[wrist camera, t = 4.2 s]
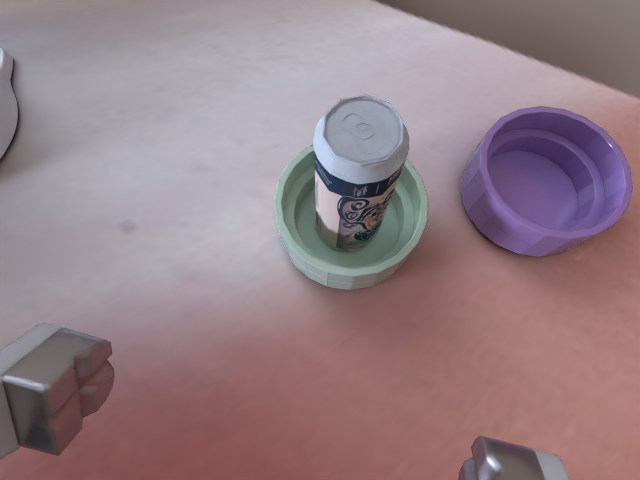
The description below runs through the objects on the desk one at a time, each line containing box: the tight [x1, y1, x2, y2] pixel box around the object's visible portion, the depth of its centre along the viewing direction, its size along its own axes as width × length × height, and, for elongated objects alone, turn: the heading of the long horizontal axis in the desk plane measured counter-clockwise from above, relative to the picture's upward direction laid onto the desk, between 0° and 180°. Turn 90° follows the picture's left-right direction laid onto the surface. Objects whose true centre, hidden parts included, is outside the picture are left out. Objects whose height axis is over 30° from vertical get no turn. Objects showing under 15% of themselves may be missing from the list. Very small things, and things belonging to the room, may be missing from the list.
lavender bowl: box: [461, 106, 633, 257], centre depth 29 cm, size 10×10×4 cm
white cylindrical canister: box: [313, 95, 409, 251], centre depth 24 cm, size 5×5×12 cm
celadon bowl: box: [274, 145, 428, 290], centre depth 28 cm, size 10×10×4 cm
